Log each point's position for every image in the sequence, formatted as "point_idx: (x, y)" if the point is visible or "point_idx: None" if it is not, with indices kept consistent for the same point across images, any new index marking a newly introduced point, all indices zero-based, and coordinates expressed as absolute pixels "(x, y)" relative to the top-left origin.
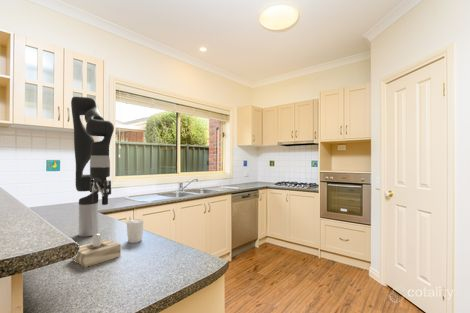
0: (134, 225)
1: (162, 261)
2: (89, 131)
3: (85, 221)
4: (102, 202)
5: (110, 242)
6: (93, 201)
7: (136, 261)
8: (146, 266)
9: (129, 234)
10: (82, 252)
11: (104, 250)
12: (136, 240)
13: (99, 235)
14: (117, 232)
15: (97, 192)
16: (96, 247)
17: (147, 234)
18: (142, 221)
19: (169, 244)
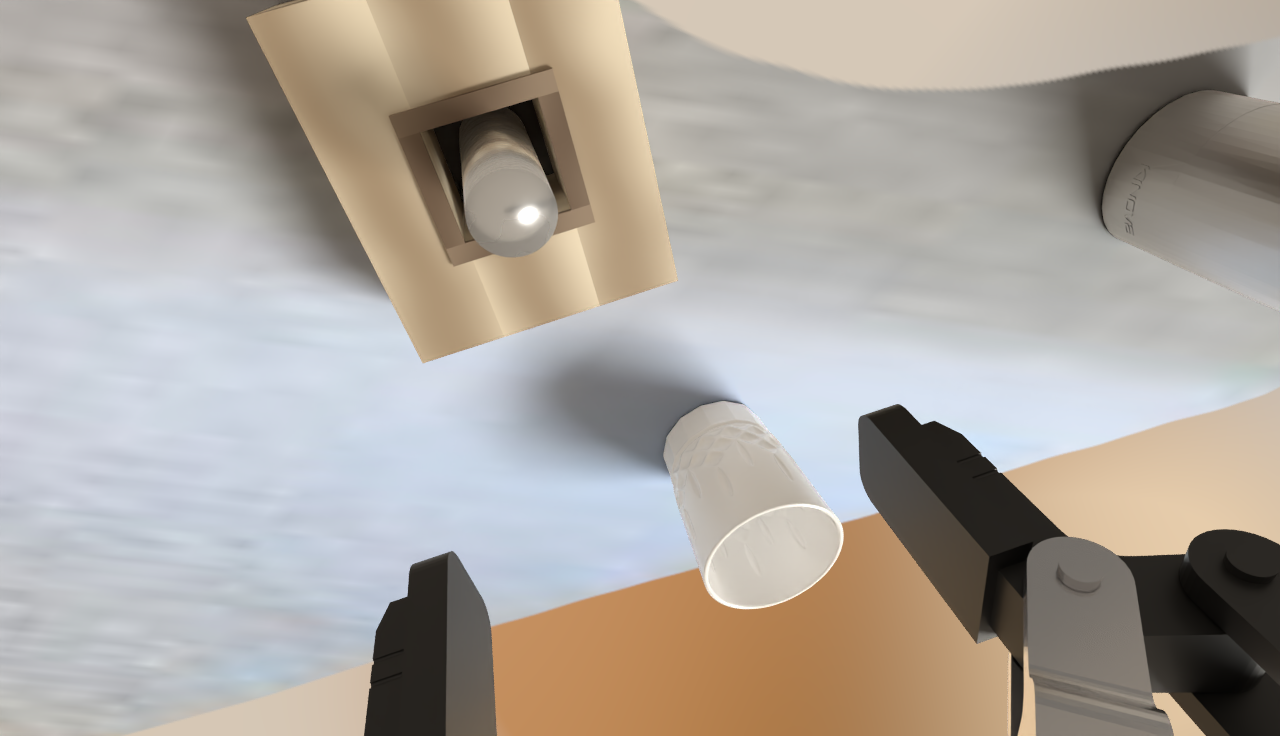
0: (705, 534)
1: (127, 527)
2: None
3: (1275, 180)
4: (416, 603)
5: (539, 297)
6: (873, 430)
7: (222, 390)
8: (65, 432)
9: (716, 446)
10: (355, 1)
11: (353, 218)
12: (667, 454)
13: (474, 236)
14: (1003, 366)
15: (1009, 667)
16: (462, 162)
17: None
18: (718, 601)
19: None
